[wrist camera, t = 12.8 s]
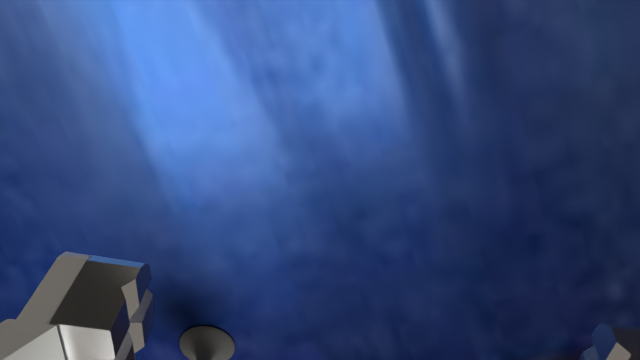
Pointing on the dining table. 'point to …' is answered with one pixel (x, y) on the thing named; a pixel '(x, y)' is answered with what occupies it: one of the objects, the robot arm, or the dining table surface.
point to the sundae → (206, 344)
